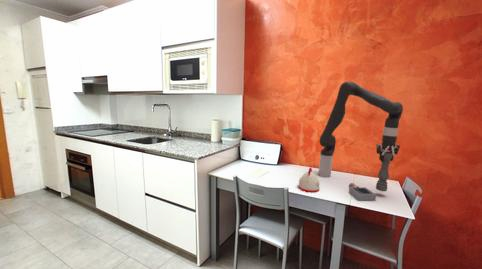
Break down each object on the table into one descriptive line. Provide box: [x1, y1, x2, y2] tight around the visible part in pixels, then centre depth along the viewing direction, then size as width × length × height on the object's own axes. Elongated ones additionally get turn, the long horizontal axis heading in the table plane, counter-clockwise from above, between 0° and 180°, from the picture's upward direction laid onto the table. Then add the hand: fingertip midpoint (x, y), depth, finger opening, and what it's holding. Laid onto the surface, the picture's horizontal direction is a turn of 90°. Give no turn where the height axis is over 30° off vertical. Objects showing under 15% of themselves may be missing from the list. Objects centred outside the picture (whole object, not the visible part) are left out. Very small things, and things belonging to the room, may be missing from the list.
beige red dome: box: [297, 166, 320, 194], centre depth 152 cm, size 14×14×15 cm
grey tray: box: [348, 182, 377, 202], centre depth 146 cm, size 18×11×5 cm, turn 3°
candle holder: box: [375, 150, 392, 192], centre depth 142 cm, size 6×6×25 cm
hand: (385, 160), depth 141 cm, fingers closed on candle holder, 5 cm apart
